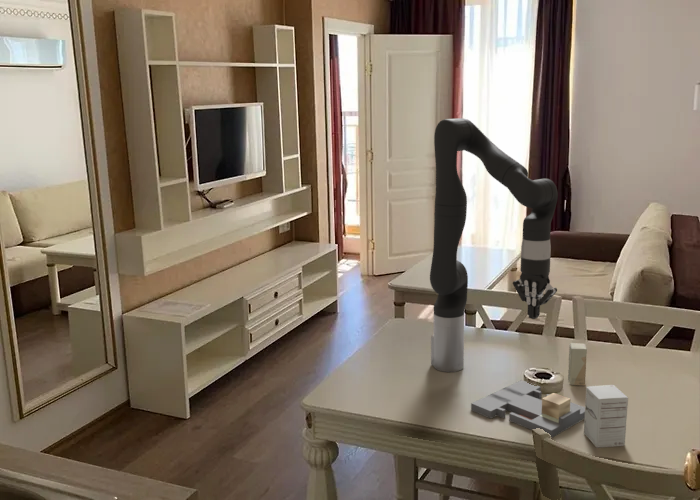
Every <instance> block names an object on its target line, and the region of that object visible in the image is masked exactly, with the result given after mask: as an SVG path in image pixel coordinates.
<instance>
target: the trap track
mask: <svg viewBox="0 0 700 500" xmlns="http://www.w3.org/2000/svg"><path fill="white" fill-rule="evenodd" d="M527 382H528V381H526V380H522V379H520V380H518V381H516V382H513V383H512V384H509V385H507V386H506V387H504V388H501V389H499V390H497V391H494V392H493V393H490V394H488V395H486V396H484V397H482V398H479V399H478V400H474V401H473V402H471V403H470V410H471V411H472V412H474V413H476V414H479V415H480V416H484V417H486V418H488V419H493V418H495V417H496V416H498V417H500V418H502V419H503V418H506V411H508V412H509V413H508V414H509V415H508V416H509V417H508V418H509V419H508V420H509V422H512V423H514V424H516V425H519V426H521V427H523V428H525V429H526V428H527V429H529V430H531V431H533V430H532V429H536V428H540V429H543V430H544V431H545V432H547V433H549V434H550V435H551V437H552V438H554V437H555V436H557V435H559V434H561V433H563V432H564V431H565V430H568V429H570V428H571V427H572V426H574V425H576V424H578V423H580V422H581V421H583V420H584V418H585V406H583V405H579V404H577V403H575V402H572V401H570V412H568V413H566V414H564V415H563V416H561V417H559V419H556V418H553V417H551V416H548V415H546V414H543V413H542V391H541V388H542V387H541V386H539V385H537V386H534V385H535V384H534V385H531V384H532V383H531V384H529V383H530V382H529V383H527ZM550 394H551V393H549V394H548V393H547V394H546V395H545V397H546V396H548V395H550Z"/></svg>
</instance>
